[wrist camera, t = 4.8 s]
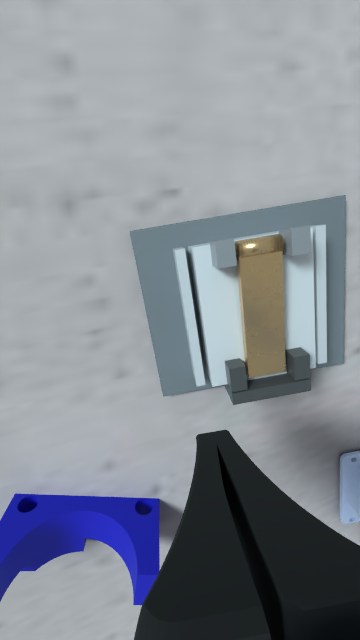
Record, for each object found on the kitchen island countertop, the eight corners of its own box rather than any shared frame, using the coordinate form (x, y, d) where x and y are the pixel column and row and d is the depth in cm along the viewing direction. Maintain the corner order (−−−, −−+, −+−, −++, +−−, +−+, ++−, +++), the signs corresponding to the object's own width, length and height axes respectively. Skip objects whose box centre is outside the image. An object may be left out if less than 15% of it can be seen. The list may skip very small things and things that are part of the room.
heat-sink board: (339, 196, 19) (396, 183, 14) (338, 359, 22) (383, 390, 18) (130, 231, 18) (122, 229, 14) (163, 392, 22) (164, 431, 17)
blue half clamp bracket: (17, 532, 25) (-25, 621, 19) (16, 492, 24) (-30, 574, 18) (153, 534, 26) (152, 618, 20) (158, 496, 25) (159, 574, 19)
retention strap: (275, 233, 16) (283, 234, 15) (280, 365, 19) (287, 373, 18) (233, 240, 16) (238, 241, 15) (245, 372, 19) (249, 380, 18)
